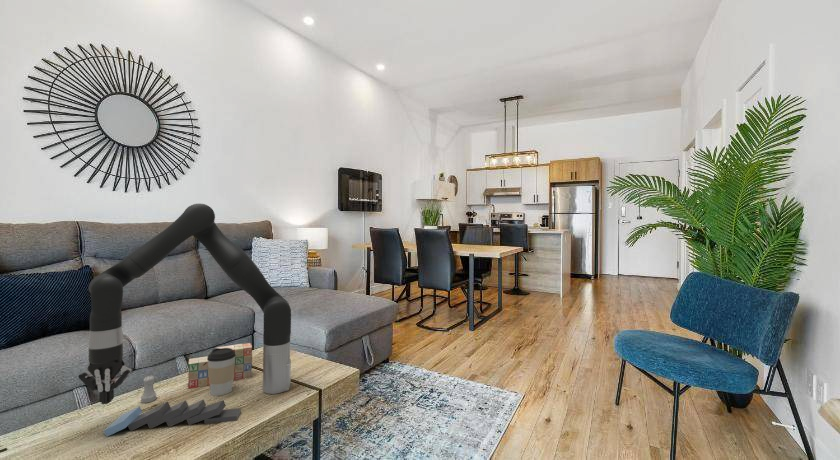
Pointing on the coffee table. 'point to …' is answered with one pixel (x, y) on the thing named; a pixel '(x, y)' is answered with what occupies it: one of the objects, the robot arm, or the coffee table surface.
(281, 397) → the coffee table surface
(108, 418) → the coffee table surface
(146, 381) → the rook chess piece
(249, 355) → the stack of blocks
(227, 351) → the coffee cup
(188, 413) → the domino
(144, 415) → the domino
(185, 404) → the domino
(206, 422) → the domino
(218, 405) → the domino
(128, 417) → the tile
